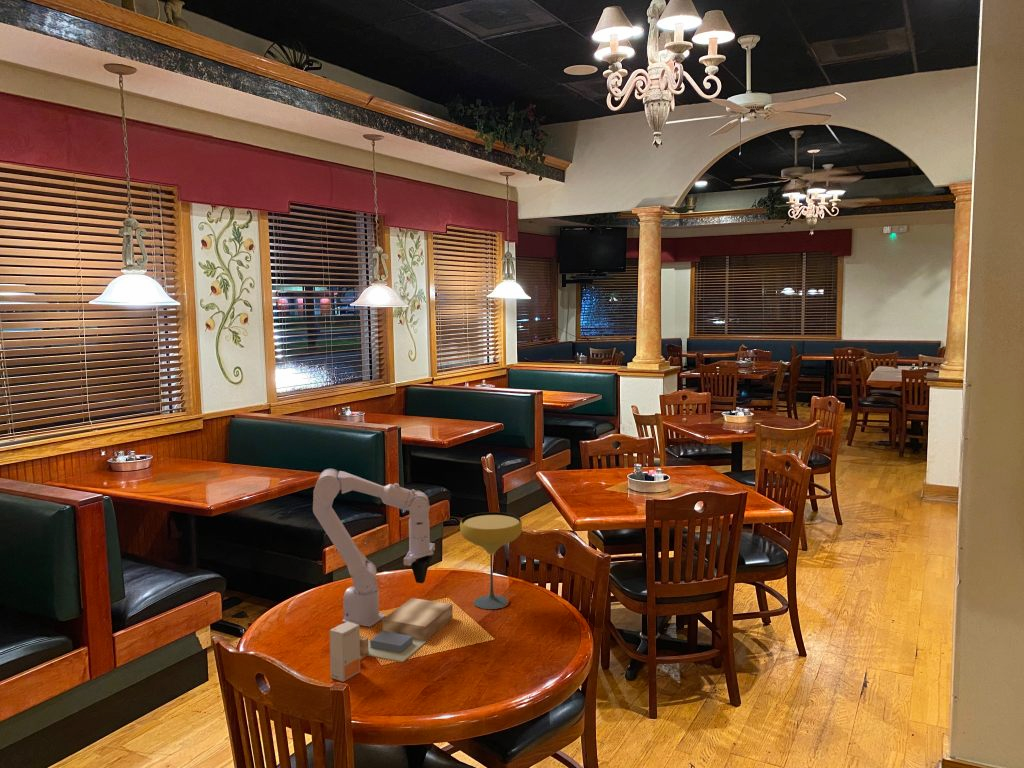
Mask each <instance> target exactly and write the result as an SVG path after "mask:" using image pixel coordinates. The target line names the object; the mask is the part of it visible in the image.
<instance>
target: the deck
mask: <svg viewBox="0 0 1024 768" xmlns="http://www.w3.org/2000/svg"><path fill="white" fill-rule="evenodd" d="M453 614H454V613H453V604H452V603H447V602H440V601H436V600H435V601H434V600H427V599H422V598H415V597H411V598H410V599H408V600H407V601H406V602H404V603H403V604H401V605H400V606H399V607H397V608H396V609H395V610H393V611H392V612H390V613H389V614H387V615H385V617H384V618H382V619H381V620H382V631H386V632H392V633H397V634H403V635H409V636H413V639H416V640H422V641H426V642H427V641H428V639H430V638H431V637H432V636H433V635H435V633H437V632H438V631H439V630H440V629H442V628H443V627H444V626H445V625H446V624H447V623H449V622H450V621H451V620H452V619H453Z"/></svg>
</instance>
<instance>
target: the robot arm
mask: <svg viewBox="0 0 1024 768" xmlns="http://www.w3.org/2000/svg"><path fill="white" fill-rule="evenodd" d="M340 491H341V495H342V494H343V495H344V494H346V493H349V492H351V491H354V492H358V493H362V494H367V495H369V496H373V497H375V498H380V499H381V502H382V503H383V504H385V505H387V506H391V507H393V508H397V509H400V510H403V511H408V512H409V519H408V538H409V539H408V542H409V543H408V545H409V547H408V548H409V550H408V552H407V554H406V555H405V556H404V557H403V566H408V567H410V568H411V571H412V573H413V575H414V581H415V583H417V584H424V583H425V581H426V578H427V572H428V569H429V566H430V563H431V562H432V560H433V559H432V557H433V555H434V551H435V550H436V547H435V546H436V543H434V542H433V543H432V542H430V539H431V537H430V533H431V532H430V518H429V516H430V513H429V512H430V509H431V506H430V500H429V497H428V495H426V493H424V492H422V491H421V490H416V489H413V488H412V489H408V488H404V487H402V486H400V484H399V483H396V482H394V483H393V484H392V483H389V484H386V485H381V484H378V483H377V482H373V481H371V480H369V479H368V480H367V479H365V478H362V477H360V476H358V475H356V474H355V475H354V474H351V473H349V472H346V471H342V470H339V471H338V470H337V469H334V468H327V469H324V470H323V471H322V472H320V474H319V475H318V478H317V481H316V483H315V486H314V489H313V495H312V496H313V497H312V499H313V501H312V513H313V514H314V516H315V518H316V519H317V521H318V523H319V525H320V526H321V528H322V529H323V530H324V531H325V533H326V535H327V536H328V538H329V539H330V541H331V543H332V545H334V547H335V549H336V550H337V552H338V554H339V555H340V557H341V558H342V560H343V561H344V563H345V564H346V567H347V570H348V573H349V575H350V577H351V579H352V585H353V586H349V587H347V588H346V590H345V592H344V593H343V594H344V595H343V599H342V603H343V605H342V606H343V619H342V620H341V622H342V623H345V622H347V621H348V622H351V623H354V624H358V625H359V626H364V627H369V628H370V627H372V626H374V625H375V624H377V623H378V622H380V621H381V620H382V619H383V618H385V617H386V614H384V613H380V595H379V594H380V593H379V592H380V591H379V590H380V589H379V585H378V584H377V573H378V571H377V566H376V565H375V564H374V563H373V562H372V561H371V560H368V558H367V557H366V555H364V554H363V553H362V552H361V550H360V549H359V547H358V546H357V545H356V543H355V541H354V540H353V538H352V536H351V535H350V533H349V532H348V530H347V528H346V527H345V525H344V524H343V523H342V521H341V520H340V517H339V516H338V515H337V513H336V511H335V510H334V508H333V503H334V499H335V498H336V497H337V496H338V494H339V493H340Z"/></svg>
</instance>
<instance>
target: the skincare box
mask: <svg viewBox="0 0 1024 768" xmlns="http://www.w3.org/2000/svg"><path fill="white" fill-rule="evenodd" d="M360 632H361V631H360V625H358V624H354V623H351V622H348V621H347V622H342V623H341V624H338V625H336V626H335V627H332V628H331V629H329V659H330V660H329V661H330V662H329V663H330V678H331V679H334V680H336V681H339V682H342V683H343V682H345V681H347V680H349V679H351V678H352V677H355V676H356V675H357V674H359V673H361V660H360Z"/></svg>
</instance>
